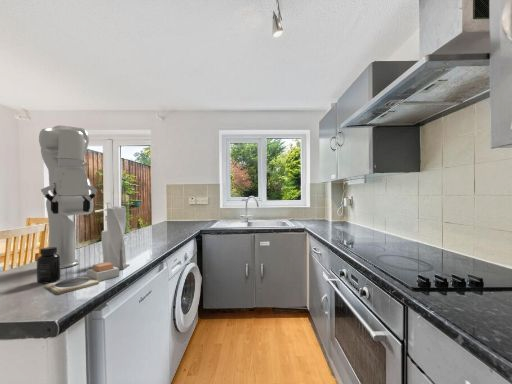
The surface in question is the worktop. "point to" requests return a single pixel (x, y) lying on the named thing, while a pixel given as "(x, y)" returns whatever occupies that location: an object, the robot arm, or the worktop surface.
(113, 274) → the button housing
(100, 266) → the button
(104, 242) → the drinking glass
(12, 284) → the worktop surface
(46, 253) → the supplement bottle
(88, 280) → the cream square coaster
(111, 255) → the skyscraper
